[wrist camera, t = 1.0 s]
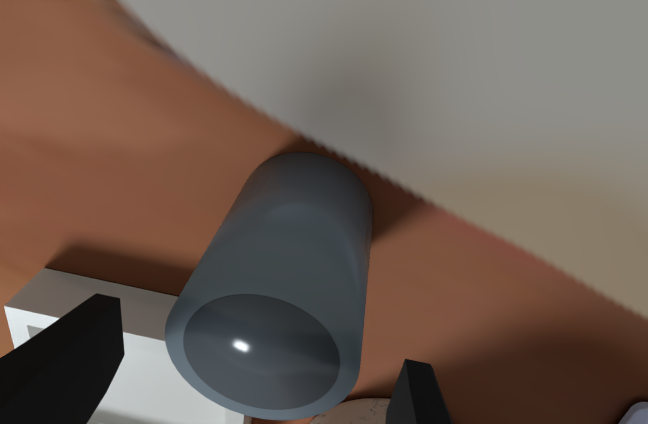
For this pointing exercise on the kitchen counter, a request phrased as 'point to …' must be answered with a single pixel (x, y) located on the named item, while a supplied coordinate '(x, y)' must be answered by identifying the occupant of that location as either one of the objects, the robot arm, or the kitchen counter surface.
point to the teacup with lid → (355, 412)
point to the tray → (139, 345)
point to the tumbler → (279, 293)
